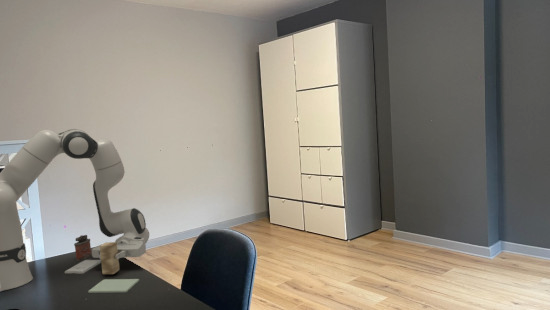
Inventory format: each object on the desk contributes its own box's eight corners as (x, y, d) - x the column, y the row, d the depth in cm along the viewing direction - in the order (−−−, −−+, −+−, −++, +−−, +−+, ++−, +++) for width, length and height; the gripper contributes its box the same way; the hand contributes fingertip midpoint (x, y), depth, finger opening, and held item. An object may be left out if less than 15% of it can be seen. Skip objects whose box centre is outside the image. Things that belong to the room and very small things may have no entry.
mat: (88, 292, 144) (88, 291, 144) (103, 281, 154) (103, 279, 154) (126, 292, 143) (126, 290, 142) (139, 280, 152) (139, 279, 152)
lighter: (87, 254, 187) (85, 233, 186) (93, 254, 186) (91, 233, 185) (74, 260, 180) (71, 238, 179) (80, 261, 179) (77, 238, 178)
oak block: (102, 274, 158) (99, 246, 157) (108, 269, 162) (105, 242, 161) (113, 274, 157) (110, 245, 156) (119, 269, 162) (116, 242, 161)
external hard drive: (101, 263, 176) (83, 275, 164) (84, 263, 177) (64, 274, 165) (101, 259, 176) (82, 271, 164) (84, 259, 177) (64, 270, 165)
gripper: (101, 239, 173) (82, 249, 160) (148, 237, 171) (132, 249, 157) (103, 253, 174) (83, 265, 160) (149, 252, 171) (134, 265, 157)
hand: (108, 257), depth 158 cm, fingers closed on oak block, 4 cm apart
